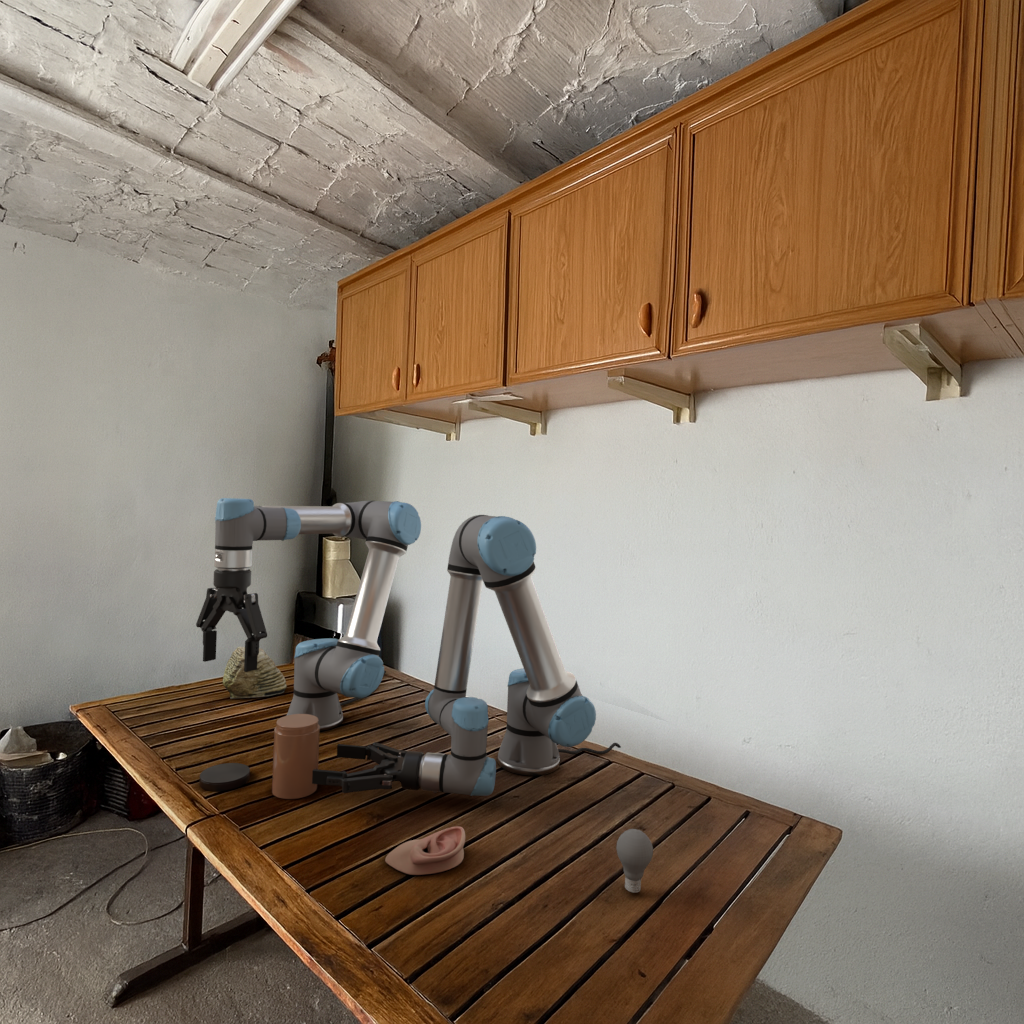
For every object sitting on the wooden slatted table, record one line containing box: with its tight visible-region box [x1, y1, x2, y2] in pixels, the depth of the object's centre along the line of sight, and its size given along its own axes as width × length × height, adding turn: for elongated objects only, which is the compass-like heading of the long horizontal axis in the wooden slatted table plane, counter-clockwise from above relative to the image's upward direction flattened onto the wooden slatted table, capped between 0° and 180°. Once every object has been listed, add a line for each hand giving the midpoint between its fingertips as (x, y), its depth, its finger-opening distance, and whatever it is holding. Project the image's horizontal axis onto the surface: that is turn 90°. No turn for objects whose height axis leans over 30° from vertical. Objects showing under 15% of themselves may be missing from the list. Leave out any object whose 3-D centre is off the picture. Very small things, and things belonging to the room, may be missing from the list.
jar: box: [271, 714, 321, 800], centre depth 137 cm, size 9×9×15 cm
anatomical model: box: [384, 826, 466, 876], centre depth 113 cm, size 13×4×12 cm
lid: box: [199, 762, 251, 792], centre depth 139 cm, size 10×10×2 cm
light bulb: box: [615, 828, 654, 894], centre depth 106 cm, size 6×6×10 cm
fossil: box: [222, 646, 288, 699], centre depth 198 cm, size 9×18×15 cm, turn 132°
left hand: (229, 665), depth 139 cm, fingers open, 13 cm apart
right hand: (325, 762), depth 136 cm, fingers open, 13 cm apart
